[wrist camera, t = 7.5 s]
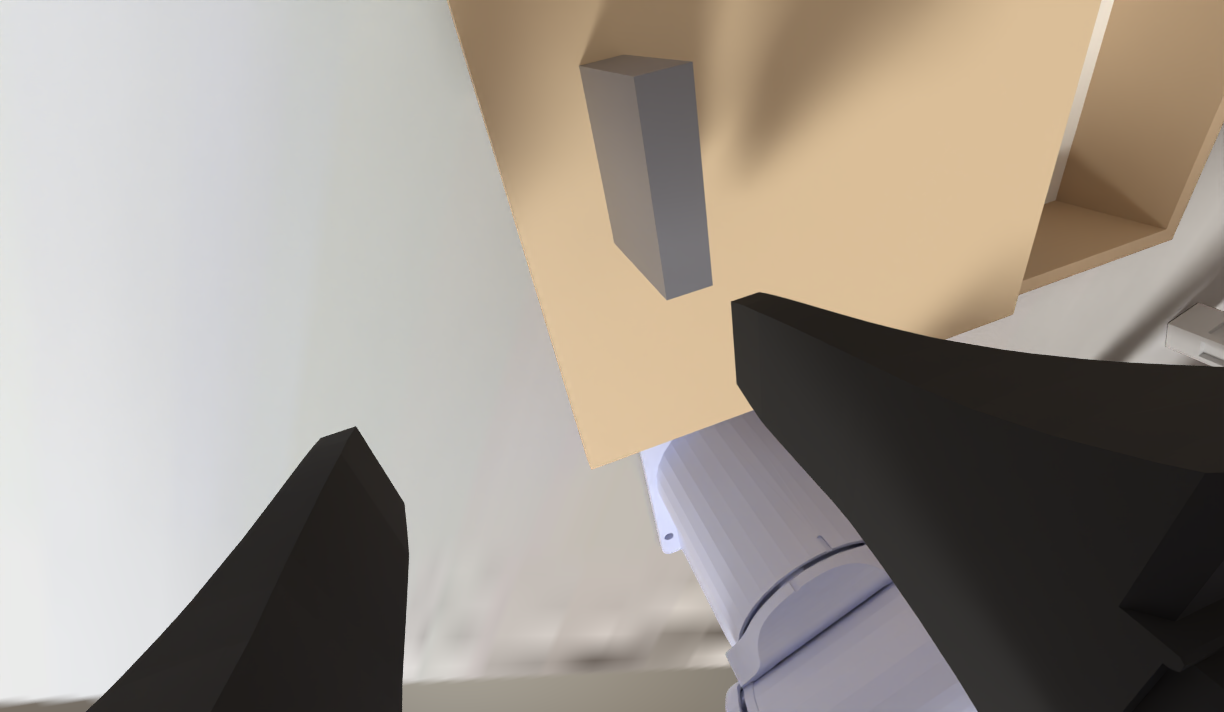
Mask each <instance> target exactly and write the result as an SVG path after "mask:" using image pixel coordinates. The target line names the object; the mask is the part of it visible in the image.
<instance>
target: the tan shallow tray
mask: <svg viewBox="0 0 1224 712" xmlns="http://www.w3.org/2000/svg"><path fill="white" fill-rule="evenodd" d="M1223 122H1224V0H1102V1H1101V4H1100V8H1099V11H1098V15H1097V18H1096V22H1095V26H1094V29H1093V33H1092V36H1091V40H1090V43H1089V47H1088V50H1087V54H1086V57H1085V61H1084V65H1083V68H1082V72H1081V75H1080V79H1079V82H1078V86H1077V89H1076V93H1075V97H1074V100H1073V104H1072V107H1071V111H1070V114H1069V118H1068V121H1067V125H1066V128H1065V132H1064V136H1063V139H1062V143H1061V146H1060V150H1059V153H1058V157H1057V160H1056V164H1055V167H1054V171H1053V175H1052V178H1051V182H1050V185H1049V189H1048V192H1047V196H1046V199H1045V203H1044V206H1043V210H1042V214H1041V217H1040V221H1039V224H1038V228H1037V231H1036V235H1035V238H1034V242H1033V245H1032V249H1031V253H1030V256H1029V260H1028V263H1027V267H1026V270H1025V274H1024V277H1023V281H1022V285H1021V288H1020V292H1019V295H1020V294H1023V293H1026V292H1028V291H1031V290H1034V289H1037V288H1039V287H1042V286H1045V285H1048V284H1050V283H1053V282H1056V281H1059V280H1061V279H1064V278H1067V277H1070V276H1072V275H1075V274H1078V273H1081V272H1083V271H1086V270H1089V269H1092V268H1095V267H1097V266H1100V265H1103V264H1106V263H1108V262H1111V261H1114V260H1117V259H1119V258H1122V257H1125V256H1128V255H1130V254H1133V253H1136V252H1139V251H1141V250H1144V249H1147V248H1150V247H1152V246H1155V245H1158V244H1161V243H1163V242H1166V241H1169V240H1172V238H1173V236H1174V234H1175V232H1176V229H1177V227H1178V225H1179V222H1180V220H1181V218H1182V216H1183V213H1184V211H1185V209H1186V207H1187V204H1188V202H1189V200H1190V197H1191V195H1192V193H1193V191H1194V188H1195V186H1196V184H1197V181H1198V179H1199V177H1200V175H1201V172H1202V170H1203V168H1204V166H1205V163H1206V161H1207V159H1208V156H1209V154H1210V152H1211V150H1212V147H1213V145H1214V143H1215V141H1216V138H1217V136H1218V134H1219V131H1220V129H1221V127H1222V125H1223Z"/></svg>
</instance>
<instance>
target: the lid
mask: <svg viewBox="0 0 1224 712" xmlns="http://www.w3.org/2000/svg"><path fill="white" fill-rule="evenodd" d="M1101 1H1102V0H447V2H448V5H449V9H450V12H451V15H452V18H453V22H454V25H455V28H456V32H457V35H458V38H459V41H460V45H461V48H462V51H463V54H464V58H465V61H466V64H467V68H468V71H469V74H470V77H471V81H472V84H473V87H474V90H475V94H476V97H477V100H478V104H479V107H480V110H481V113H482V117H483V120H484V123H485V126H486V130H487V133H488V136H489V139H490V143H491V146H492V149H493V153H494V156H495V159H496V162H497V166H498V169H499V172H500V175H501V179H502V182H503V185H504V189H505V192H506V195H507V198H508V202H509V205H510V208H511V211H512V215H513V218H514V221H515V225H516V228H517V231H518V234H519V238H520V241H521V244H522V247H523V251H524V254H525V257H526V260H527V264H528V267H529V270H530V274H531V277H532V280H533V283H534V287H535V290H536V293H537V296H538V300H539V303H540V306H541V310H542V313H543V316H544V319H545V323H546V326H547V329H548V332H549V336H550V339H551V342H552V345H553V349H554V352H555V355H556V359H557V362H558V365H559V368H560V372H561V375H562V378H563V381H564V385H565V388H566V391H567V395H568V398H569V401H570V404H571V408H572V411H573V414H574V417H575V421H576V424H577V427H578V431H579V434H580V437H581V440H582V444H583V447H584V450H585V453H586V457H587V459H588V462H589V465H590V467H591V470H592V469H595V468H598V467H600V466H603V465H606V464H608V463H611V462H614V461H617V460H619V459H622V458H625V457H627V456H630V455H633V454H636V453H638V452H641V451H644V450H646V449H649V448H652V447H655V446H657V445H660V444H663V443H665V442H668V441H671V440H674V439H676V438H679V437H682V436H684V435H687V434H690V433H693V432H695V431H698V430H701V429H703V428H706V427H709V426H712V425H714V424H717V423H720V422H722V421H725V420H728V419H731V418H733V417H736V416H739V415H741V414H744V413H747V412H750V411H752V410H753V409H752V407H751V406H750V404H749V403H748V401H747V399H746V398H745V396H744V395H743V393H742V392H741V390H740V389H739V387H738V386H737V384H736V369H735V355H734V341H733V326H732V312H731V301H734V300H737V299H740V298H743V297H746V296H749V295H752V294H755V293H758V292H762V293H767V294H772V295H776V296H780V297H783V298H787V299H791V300H794V301H798V302H801V303H805V304H808V305H811V306H815V307H818V308H822V309H825V310H829V311H832V312H835V313H839V314H842V315H846V316H849V317H853V318H857V319H860V320H864V321H868V322H871V323H875V324H879V325H883V326H887V327H891V328H895V329H899V330H903V331H908V332H912V333H916V334H920V335H925V336H929V337H934V338H939V339H944V340H945V339H948V338H950V337H953V336H956V335H959V334H961V333H964V332H967V331H969V330H972V329H975V328H978V327H980V326H983V325H986V324H988V323H991V322H994V321H997V320H999V319H1002V318H1005V317H1007V316H1010V315H1013V313H1014V309H1015V306H1016V302H1017V299H1018V295H1019V292H1020V288H1021V285H1022V281H1023V277H1024V274H1025V270H1026V267H1027V263H1028V260H1029V256H1030V253H1031V249H1032V245H1033V242H1034V238H1035V235H1036V231H1037V228H1038V224H1039V221H1040V217H1041V214H1042V210H1043V206H1044V203H1045V199H1046V196H1047V192H1048V189H1049V185H1050V182H1051V178H1052V175H1053V171H1054V167H1055V164H1056V160H1057V157H1058V153H1059V150H1060V146H1061V143H1062V139H1063V136H1064V132H1065V128H1066V125H1067V121H1068V118H1069V114H1070V111H1071V107H1072V104H1073V100H1074V97H1075V93H1076V89H1077V86H1078V82H1079V79H1080V75H1081V72H1082V68H1083V65H1084V61H1085V57H1086V54H1087V50H1088V47H1089V43H1090V40H1091V36H1092V33H1093V29H1094V26H1095V22H1096V18H1097V15H1098V11H1099V8H1100V4H1101Z"/></svg>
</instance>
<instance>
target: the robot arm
mask: <svg viewBox="0 0 1224 712" xmlns="http://www.w3.org/2000/svg"><path fill="white" fill-rule="evenodd" d="M731 312H732V326H733V341H734V355H735V369H736V384H737V386H738V387H739V389H740V390H741V392H742V393H743V395H744V396H745V398H746V399H747V401H748V403H749V404H750V406H751V407H752V409H753V410H752V411H750V412H747V413H744V414H741V415H739V416H736V417H733V418H731V419H728V420H725V421H722V422H720V423H717V424H714V425H712V426H709V427H706V428H703V429H701V430H698V431H695V432H693V433H690V434H687V435H684V436H682V437H679V438H676V439H674V440H671V441H668V442H665V443H663V444H660V445H657V446H655V447H652V448H649V449H646V450H644V451H641V452H640V457H641V461H642V466H643V470H644V475H645V479H646V484H647V488H648V492H649V497H650V501H651V506H652V510H653V515H654V519H655V524H656V528H657V533H658V537H659V542H660V546H661V548H662V550H663V552H664V553H666V554H670V553H673V552H676V551H678V550H681V549H682V550H683V552H684V554H685V556H686V558H687V560H688V562H689V564H690V566H691V568H692V570H693V572H694V574H695V576H696V578H697V580H698V582H699V584H700V586H701V588H702V590H703V592H704V594H705V596H706V598H707V600H708V602H709V604H710V606H711V608H712V610H713V612H714V614H715V616H716V618H717V620H718V622H719V624H720V626H721V628H722V630H723V632H724V634H725V636H726V638H727V639H728V641H729V643H730V644H731V646H732V648H731V649H729V650H728V651H727V652H726V654H725V655H726V657H727V659H728V661H729V663H730V665H731V667H732V669H733V671H734V674H735V676H736V678H737V680H738V682H736V683H735V684H734V685H732V686H731V687H730V688H729V689H728V692H727V694H726V706H725V707H726V712H1224V367H1213V366H1186V365H1166V364H1145V363H1127V362H1114V361H1100V360H1088V359H1078V358H1069V357H1059V356H1050V355H1040V354H1031V353H1024V352H1016V351H1009V350H1002V349H996V348H990V347H984V346H978V345H972V344H966V343H960V342H954V341H949V340H944V339H939V338H934V337H929V336H925V335H920V334H916V333H912V332H908V331H903V330H899V329H895V328H891V327H887V326H883V325H879V324H875V323H871V322H868V321H864V320H860V319H857V318H853V317H849V316H846V315H842V314H839V313H835V312H832V311H829V310H825V309H822V308H818V307H815V306H811V305H808V304H805V303H801V302H798V301H794V300H791V299H787V298H783V297H780V296H776V295H772V294H767V293H762V292H758V293H755V294H752V295H749V296H746V297H743V298H740V299H737V300H734V301H731ZM408 565H409V549H408V535H407V525H406V515H405V505H404V502H403V500H402V499H401V497H400V496H399V494H398V492H397V491H396V489H395V488H394V486H393V484H392V483H391V481H390V480H389V478H388V476H387V475H386V473H385V472H384V470H383V468H382V467H381V465H380V464H379V462H378V461H377V459H376V457H375V456H374V454H373V453H372V451H371V449H370V448H369V446H368V445H367V443H366V441H365V440H364V438H363V437H362V435H361V433H360V432H359V430H358V429H357V427H353V428H350V429H347V430H344V431H341V432H338V433H335V434H332V435H329V436H326V437H323V438H320V439H319V441H318V442H317V443H316V444H315V445H314V446H313V447H312V449H311V450H310V451H309V452H308V454H307V455H306V456H305V457H304V459H303V460H302V461H301V463H300V464H299V465H298V467H297V468H296V469H295V471H294V472H293V473H292V475H291V476H290V477H289V479H288V480H287V481H286V483H285V484H284V485H283V487H282V488H281V489H280V491H279V492H278V493H277V495H276V496H275V497H274V498H273V500H272V501H271V502H270V504H269V505H268V506H267V508H266V509H265V510H264V512H263V513H262V514H261V516H260V517H259V518H258V519H257V521H256V522H255V523H254V525H253V526H252V527H251V529H250V530H249V531H248V533H247V534H246V535H245V536H244V538H243V539H242V540H241V541H240V543H239V544H238V545H237V546H236V547H235V549H234V550H233V551H232V552H231V554H230V555H229V556H228V557H227V558H226V560H225V561H224V562H223V563H222V565H221V566H220V567H219V568H218V569H217V571H216V572H215V573H214V574H213V575H212V577H211V578H210V579H209V580H208V582H207V583H206V584H205V585H204V586H203V588H202V589H201V590H200V591H199V592H198V594H197V595H196V596H195V597H194V599H193V600H192V601H191V602H190V603H189V604H188V605H187V607H186V608H185V609H184V610H183V611H182V612H181V613H180V615H179V616H178V617H177V618H176V619H175V620H174V621H173V622H172V623H171V625H170V626H169V627H168V628H167V629H166V630H165V631H164V632H163V633H162V634H161V636H160V637H159V638H158V639H157V640H156V641H155V642H154V643H153V644H152V645H151V646H150V647H149V648H148V649H147V650H146V651H145V652H144V654H143V655H142V656H141V657H140V658H139V659H138V660H137V661H136V662H135V663H134V664H133V665H132V666H131V667H130V668H129V669H128V670H127V672H126V673H125V674H124V675H123V676H122V677H121V678H120V679H119V680H118V681H117V682H116V683H115V684H114V685H113V686H112V687H111V688H110V689H109V690H108V691H107V692H106V693H105V694H104V695H103V696H102V697H101V698H100V699H99V700H98V701H97V702H96V703H95V704H93V705H92V706H91V707H90V708H89V709H88V710H87V711H86V712H402V678H403V660H404V642H405V624H406V606H407V587H408Z"/></svg>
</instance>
